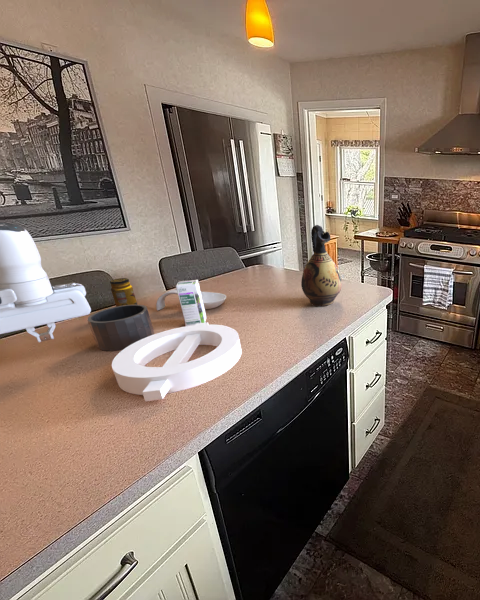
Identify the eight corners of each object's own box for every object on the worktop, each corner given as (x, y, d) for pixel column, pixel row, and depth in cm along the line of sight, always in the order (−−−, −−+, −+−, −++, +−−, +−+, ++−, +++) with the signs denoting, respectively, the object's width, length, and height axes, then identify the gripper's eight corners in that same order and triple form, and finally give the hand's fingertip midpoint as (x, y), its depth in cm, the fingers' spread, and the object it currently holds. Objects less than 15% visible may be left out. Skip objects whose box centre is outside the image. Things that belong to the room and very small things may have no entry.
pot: (109, 355, 90) (98, 326, 87) (90, 343, 97) (79, 315, 94) (163, 336, 101) (155, 310, 98) (142, 326, 108) (135, 301, 105)
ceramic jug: (349, 304, 128) (345, 227, 118) (311, 312, 120) (303, 230, 109) (332, 292, 141) (327, 222, 131) (296, 298, 133) (288, 224, 122)
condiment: (144, 307, 124) (135, 277, 119) (128, 316, 116) (117, 284, 112) (125, 307, 123) (115, 277, 119) (107, 316, 116) (96, 284, 111)
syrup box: (185, 327, 108) (174, 285, 103) (188, 320, 113) (178, 280, 108) (205, 324, 110) (195, 283, 105) (207, 317, 115) (198, 278, 110)
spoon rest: (231, 300, 131) (228, 283, 129) (222, 311, 120) (218, 293, 118) (167, 303, 127) (162, 286, 125) (151, 315, 116) (145, 297, 114)
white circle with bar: (206, 330, 105) (203, 317, 104) (262, 353, 92) (260, 338, 90) (97, 372, 83) (91, 356, 81) (151, 410, 70) (145, 392, 68)
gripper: (79, 278, 90) (95, 324, 94) (-41, 297, 74) (-15, 350, 79) (85, 283, 86) (100, 330, 91) (-40, 304, 71) (-14, 359, 76)
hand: (46, 340), depth 85 cm, fingers closed
